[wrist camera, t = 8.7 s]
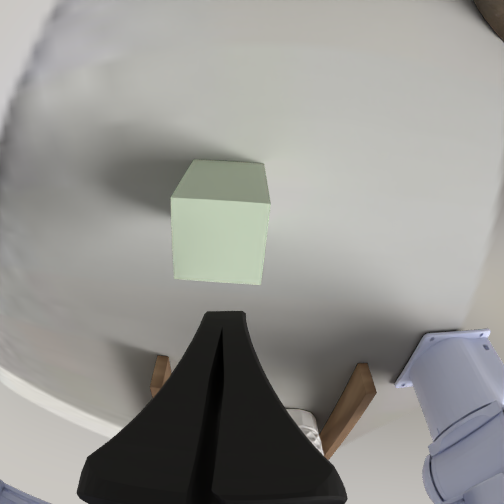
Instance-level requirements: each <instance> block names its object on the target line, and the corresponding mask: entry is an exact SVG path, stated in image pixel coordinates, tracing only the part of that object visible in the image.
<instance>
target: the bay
mask: <svg viewBox="0 0 504 504" xmlns="http://www.w3.org/2000/svg"><path fill="white" fill-rule="evenodd" d="M170 375H171V368H170V362H169V357H167V356H157V360H156V364H155V368H154V372H153V376H152V380H151V384H150V390H151V393H152V397H154V396H155V395H156V394H157V392H158V391H159V390H160V389H161V387H162V386H163V385H164V384H165V382H166V381H167V379H168V378H169V377H170ZM376 393H377V392H376V389H375V386H374V382H373V379H372V376H371V373H370V370H369V367H368V363H358V364H357V366H356V368H355V370H354V372H353V374H352V376H351V378H350V380H349V382H348V384H347V386H346V388H345V390H344V392H343V393H342V395H341V397H340V399H339V401H338V403H337V405H336V406H335V408H334V410H333V412H332V414H331V415H330V417H329V419H328V421H327V422H326V424H325V426H324V428H323V429H322V431H321V433H320V434H319V437H320V440H321V443H322V450H323V453H324V457H325V458H326V459H327V460H329V459H330V457H331V456H332V455H333V454H334V452H335V451H336V450H337V449H338V447H339V446H340V445H341V443H342V442H343V441H344V439H345V438H346V437H347V435H348V434H349V433H350V431H351V430H352V428H353V427H354V426H355V424H356V423H357V421H358V420H359V419H360V417H361V416H362V414H363V413H364V411H365V410H366V408H367V407H368V405H369V404H370V402H371V401H372V399H373V398H374V396H375V395H376Z"/></svg>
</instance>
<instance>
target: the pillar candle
mask: <svg viewBox="0 0 504 504" xmlns="http://www.w3.org/2000/svg"><path fill="white" fill-rule="evenodd" d="M473 1H474V2H475V4H476V6H477V7H478V10H479V11H480V13H481V14H482V15H483V17H484V18H485V20H486V21H487V22H488V24H489V25H490V26H491V27H492V29H493V30H494V31H495V32H496V33H497V35H498V36H499V37H500V38H501V39H502V40H503V41H504V0H473Z"/></svg>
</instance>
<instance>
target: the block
mask: <svg viewBox="0 0 504 504" xmlns="http://www.w3.org/2000/svg"><path fill="white" fill-rule="evenodd" d="M270 205H271V203H270V197H269V191H268V185H267V179H266V173H265V167H264V164H260V163H248V162H234V161H217V160H196V159H194V160H193V162H192V163H191V165H190V166H189V168H188V170H187V171H186V173H185V174H184V176H183V178H182V179H181V181H180V183H179V184H178V186H177V188H176V189H175V191H174V193H173V194H172V196H171V229H172V252H173V269H174V279H181V280H194V281H207V282H221V283H236V284H252V285H261V279H262V271H263V263H264V255H265V247H266V239H267V230H268V222H269V214H270Z"/></svg>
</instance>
